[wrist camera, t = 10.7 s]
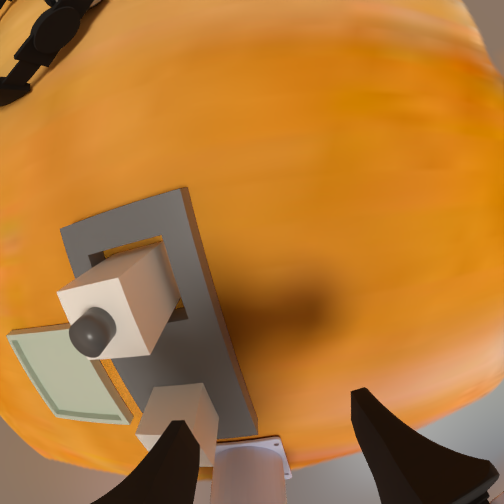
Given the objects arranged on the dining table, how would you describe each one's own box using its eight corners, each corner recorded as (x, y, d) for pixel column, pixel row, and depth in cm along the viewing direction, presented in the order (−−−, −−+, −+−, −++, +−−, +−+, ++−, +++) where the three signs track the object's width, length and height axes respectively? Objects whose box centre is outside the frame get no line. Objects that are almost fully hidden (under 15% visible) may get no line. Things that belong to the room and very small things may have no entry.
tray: (133, 416, 22) (130, 424, 21) (60, 410, 23) (55, 417, 22) (80, 321, 19) (73, 328, 18) (12, 330, 20) (6, 335, 19)
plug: (180, 296, 19) (139, 375, 11) (131, 305, 19) (74, 377, 11) (163, 240, 18) (101, 291, 10) (113, 254, 18) (38, 304, 10)
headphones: (136, -85, 5) (-46, 152, 10) (174, -31, 12) (19, 144, 17) (58, -95, 1) (-62, 59, 6) (92, -68, 9) (-18, 61, 14)
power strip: (257, 418, 22) (260, 498, 14) (166, 426, 22) (146, 496, 14) (187, 187, 17) (133, 197, 9) (75, 223, 17) (-9, 255, 9)
